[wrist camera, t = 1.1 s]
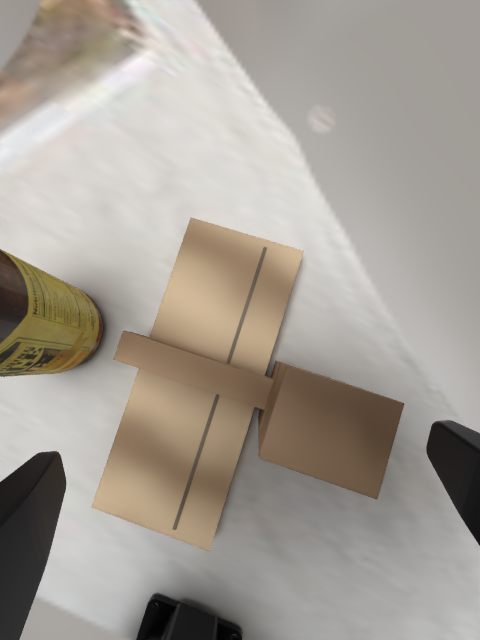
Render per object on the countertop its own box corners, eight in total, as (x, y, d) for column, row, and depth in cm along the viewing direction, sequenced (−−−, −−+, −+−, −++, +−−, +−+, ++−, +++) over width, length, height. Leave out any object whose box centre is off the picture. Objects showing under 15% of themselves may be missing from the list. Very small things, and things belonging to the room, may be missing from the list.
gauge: (337, 442, 24) (392, 504, 14) (132, 372, 25) (50, 385, 15) (353, 386, 24) (419, 408, 14) (150, 320, 26) (81, 298, 16)
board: (213, 534, 24) (209, 551, 22) (104, 494, 24) (90, 507, 22) (300, 259, 25) (303, 250, 23) (195, 227, 26) (190, 217, 24)
